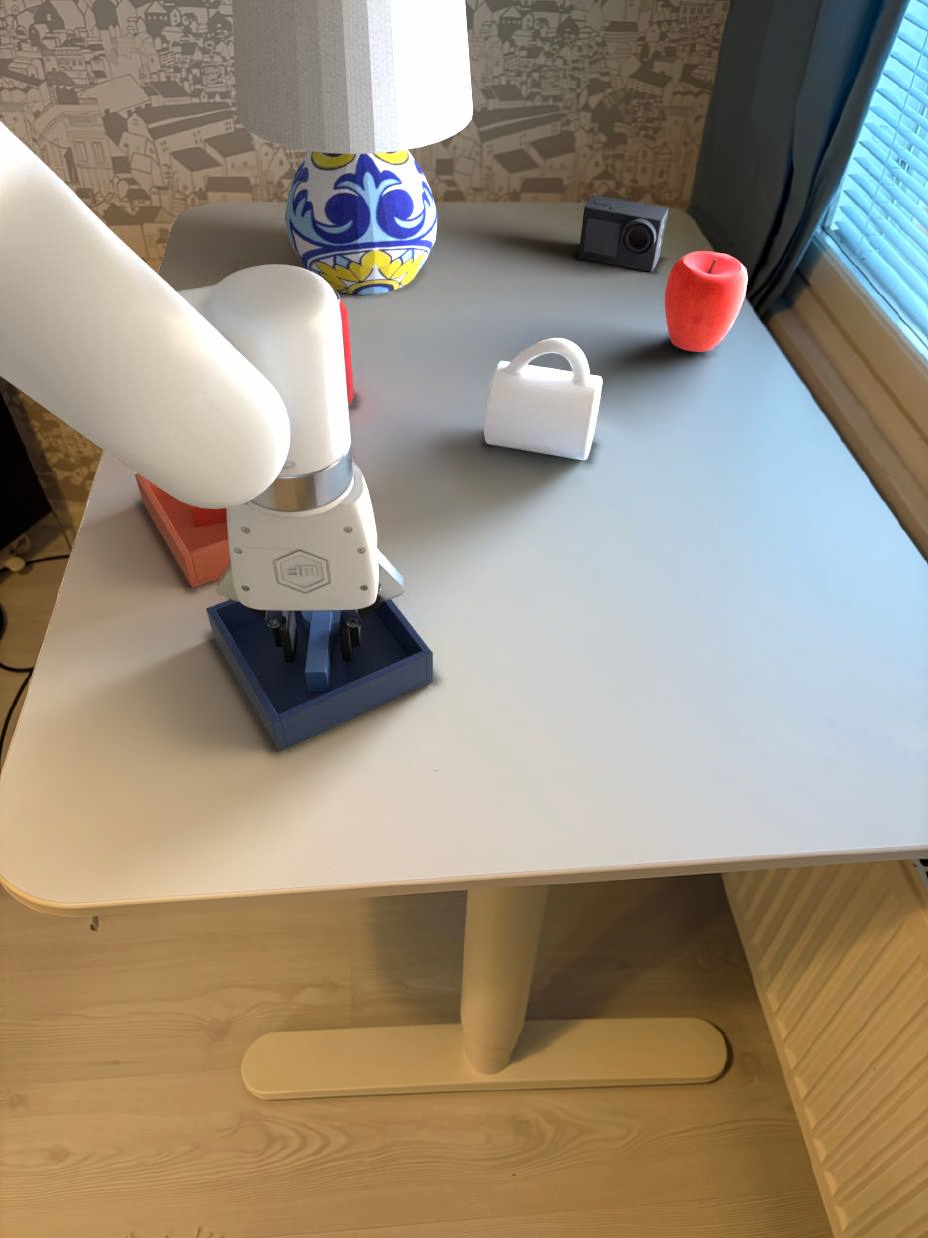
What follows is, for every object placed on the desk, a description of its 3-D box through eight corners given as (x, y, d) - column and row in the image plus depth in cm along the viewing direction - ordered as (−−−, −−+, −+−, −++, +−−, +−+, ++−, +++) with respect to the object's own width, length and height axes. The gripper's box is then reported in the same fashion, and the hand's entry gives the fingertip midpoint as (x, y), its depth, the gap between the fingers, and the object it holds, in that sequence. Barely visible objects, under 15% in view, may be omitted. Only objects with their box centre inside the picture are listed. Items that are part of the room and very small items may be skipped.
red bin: (192, 588, 79) (184, 558, 76) (143, 503, 86) (134, 473, 84) (330, 537, 84) (327, 507, 81) (272, 460, 91) (268, 431, 89)
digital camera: (574, 261, 123) (580, 209, 117) (585, 245, 126) (591, 193, 121) (650, 276, 120) (660, 223, 115) (659, 259, 124) (668, 206, 119)
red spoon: (196, 535, 83) (190, 515, 81) (192, 509, 85) (187, 489, 83) (300, 517, 85) (297, 497, 83) (293, 492, 87) (290, 472, 85)
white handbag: (499, 414, 98) (506, 310, 89) (595, 430, 96) (611, 326, 87) (481, 459, 92) (487, 353, 83) (582, 477, 91) (598, 370, 82)
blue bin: (279, 752, 67) (273, 723, 65) (213, 637, 75) (205, 608, 72) (433, 681, 72) (433, 652, 70) (357, 580, 80) (354, 551, 77)
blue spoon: (342, 691, 71) (340, 671, 69) (293, 691, 71) (290, 672, 69) (349, 603, 77) (347, 583, 76) (304, 603, 77) (301, 583, 75)
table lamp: (270, 331, 108) (209, -90, 79) (251, 232, 126) (197, -142, 97) (490, 310, 113) (511, -95, 84) (443, 217, 131) (446, -143, 102)
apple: (675, 371, 104) (695, 281, 97) (642, 333, 110) (658, 245, 102) (743, 359, 107) (768, 270, 99) (707, 323, 112) (728, 236, 104)
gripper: (153, 501, 56) (207, 686, 70) (422, 501, 57) (424, 685, 71) (176, 429, 62) (221, 615, 75) (422, 430, 62) (424, 614, 76)
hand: (319, 647), depth 73 cm, fingers open, 3 cm apart
